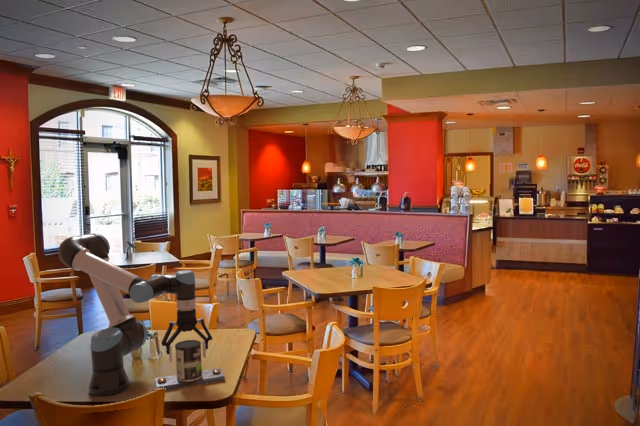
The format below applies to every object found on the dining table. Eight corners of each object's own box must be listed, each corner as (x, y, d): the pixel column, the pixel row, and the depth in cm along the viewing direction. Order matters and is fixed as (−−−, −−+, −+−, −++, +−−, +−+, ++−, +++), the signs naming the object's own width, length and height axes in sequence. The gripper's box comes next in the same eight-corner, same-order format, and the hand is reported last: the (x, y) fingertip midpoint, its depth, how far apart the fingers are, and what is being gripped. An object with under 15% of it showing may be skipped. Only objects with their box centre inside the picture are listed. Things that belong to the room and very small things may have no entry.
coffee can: (206, 372, 222) (204, 340, 221) (195, 382, 212) (194, 348, 211) (183, 371, 224) (182, 339, 223) (172, 381, 214) (170, 347, 213)
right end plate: (195, 385, 214) (194, 378, 214) (191, 376, 224) (191, 370, 223) (224, 380, 219) (224, 373, 218) (220, 372, 228) (219, 365, 228)
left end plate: (156, 392, 209) (156, 384, 209) (154, 382, 218) (154, 375, 218) (187, 386, 213) (187, 379, 213) (184, 378, 222) (184, 371, 222)
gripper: (155, 314, 208) (156, 366, 210) (218, 307, 217) (219, 358, 219) (153, 309, 215) (155, 360, 217) (215, 303, 224) (216, 352, 226)
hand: (187, 359), depth 218 cm, fingers open, 13 cm apart
